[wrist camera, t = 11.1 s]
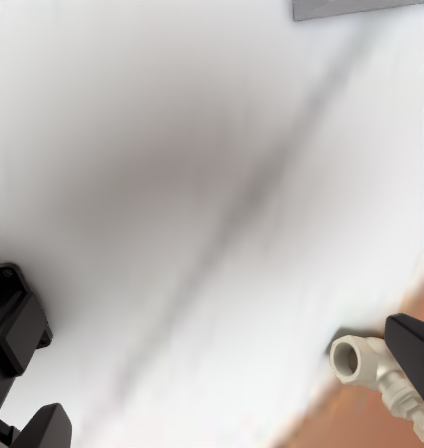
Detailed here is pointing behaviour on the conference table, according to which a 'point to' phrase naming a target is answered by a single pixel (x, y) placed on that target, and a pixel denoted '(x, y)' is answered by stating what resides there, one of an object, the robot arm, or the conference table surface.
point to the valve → (378, 376)
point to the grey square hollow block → (341, 7)
